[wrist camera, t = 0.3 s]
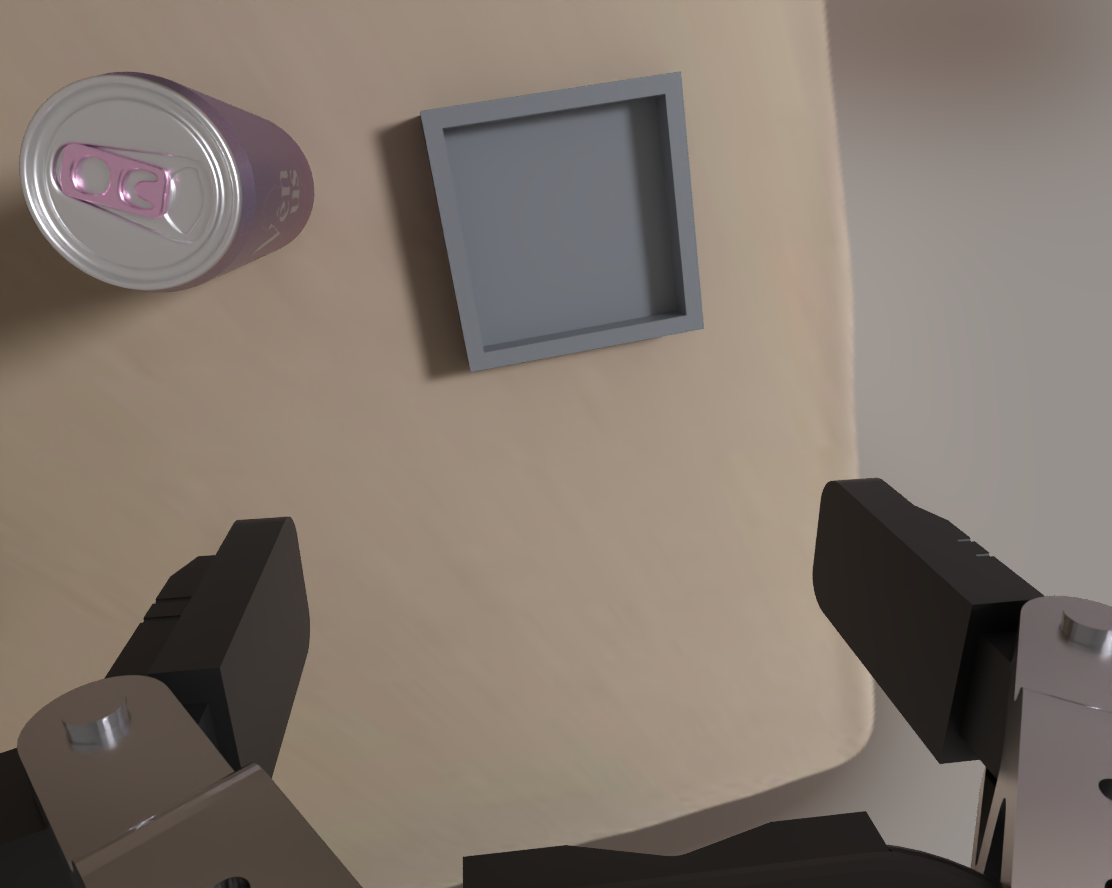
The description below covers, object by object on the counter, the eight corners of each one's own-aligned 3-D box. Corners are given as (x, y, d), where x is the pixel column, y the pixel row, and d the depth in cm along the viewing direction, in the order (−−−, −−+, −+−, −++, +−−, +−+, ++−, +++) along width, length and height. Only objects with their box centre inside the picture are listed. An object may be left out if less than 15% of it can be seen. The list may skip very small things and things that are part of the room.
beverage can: (187, 95, 34) (21, 33, 20) (328, 137, 35) (265, 107, 21) (167, 233, 36) (-1, 265, 21) (302, 268, 37) (228, 321, 23)
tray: (420, 115, 36) (420, 111, 34) (666, 77, 37) (680, 71, 35) (468, 362, 40) (470, 372, 38) (690, 321, 41) (703, 328, 39)
